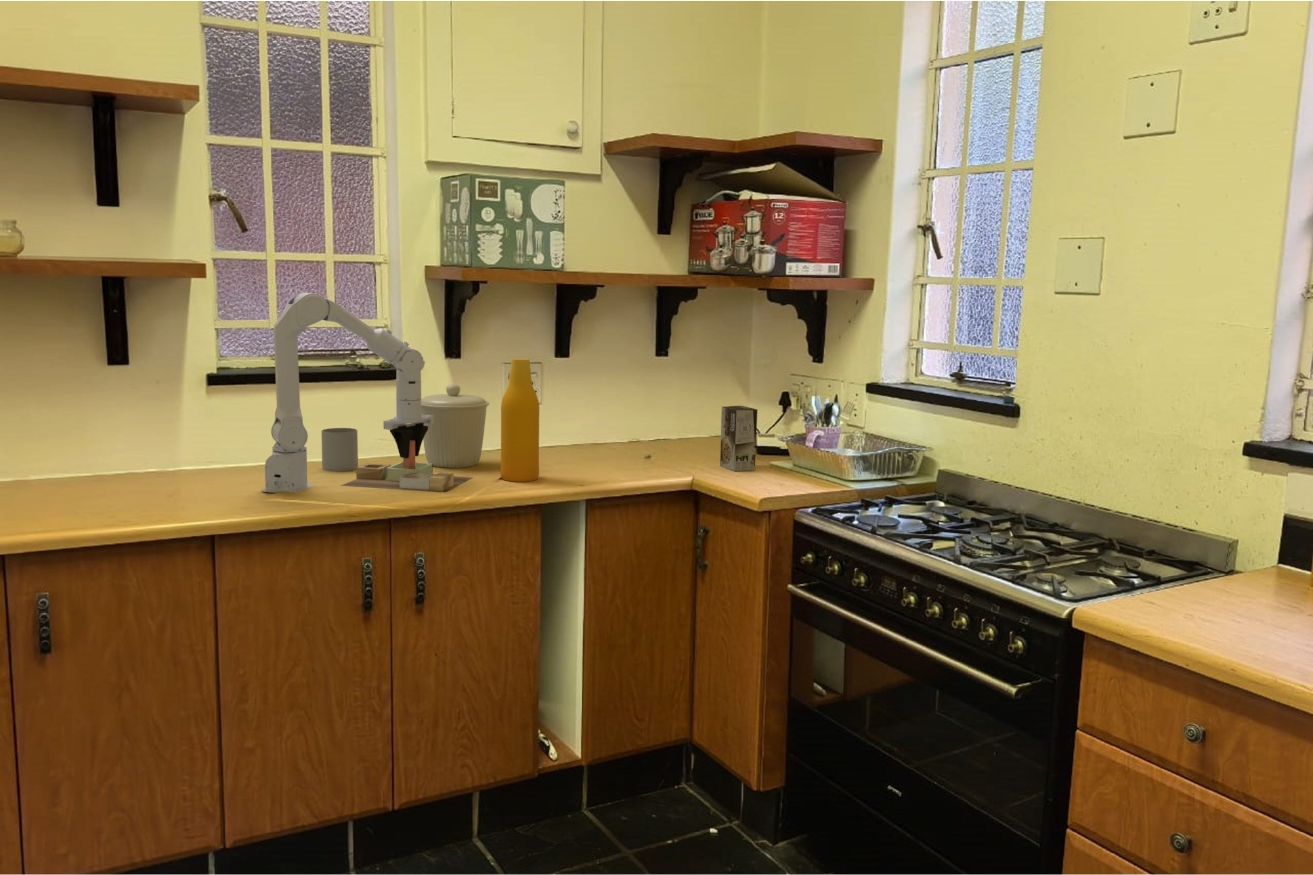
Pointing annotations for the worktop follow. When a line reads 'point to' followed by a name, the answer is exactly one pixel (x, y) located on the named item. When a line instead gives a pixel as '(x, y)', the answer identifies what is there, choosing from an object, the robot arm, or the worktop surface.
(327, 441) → the cup
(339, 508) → the worktop surface
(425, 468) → the tray
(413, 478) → the grey flat block
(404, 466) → the dowel
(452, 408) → the canister
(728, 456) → the coffee box
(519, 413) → the beer bottle
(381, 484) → the bench board
